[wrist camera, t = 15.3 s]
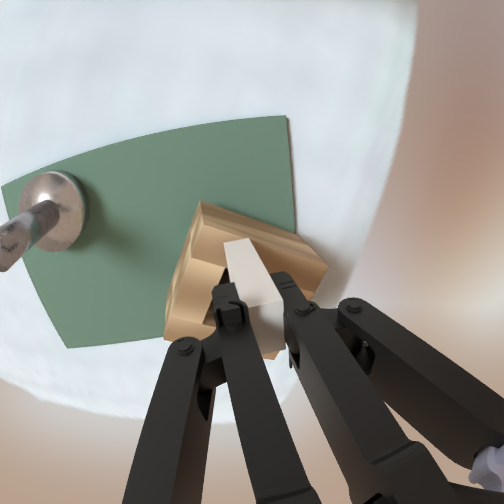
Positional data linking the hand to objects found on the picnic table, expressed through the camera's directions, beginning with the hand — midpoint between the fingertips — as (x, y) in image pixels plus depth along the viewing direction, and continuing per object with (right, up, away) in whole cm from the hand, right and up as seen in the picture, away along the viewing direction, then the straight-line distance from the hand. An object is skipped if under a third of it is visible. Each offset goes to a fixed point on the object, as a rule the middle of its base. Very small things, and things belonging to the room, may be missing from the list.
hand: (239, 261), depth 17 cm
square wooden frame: (-1, -1, +7) cm, 7 cm away
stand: (-17, +5, +3) cm, 18 cm away
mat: (-9, +1, +7) cm, 12 cm away
